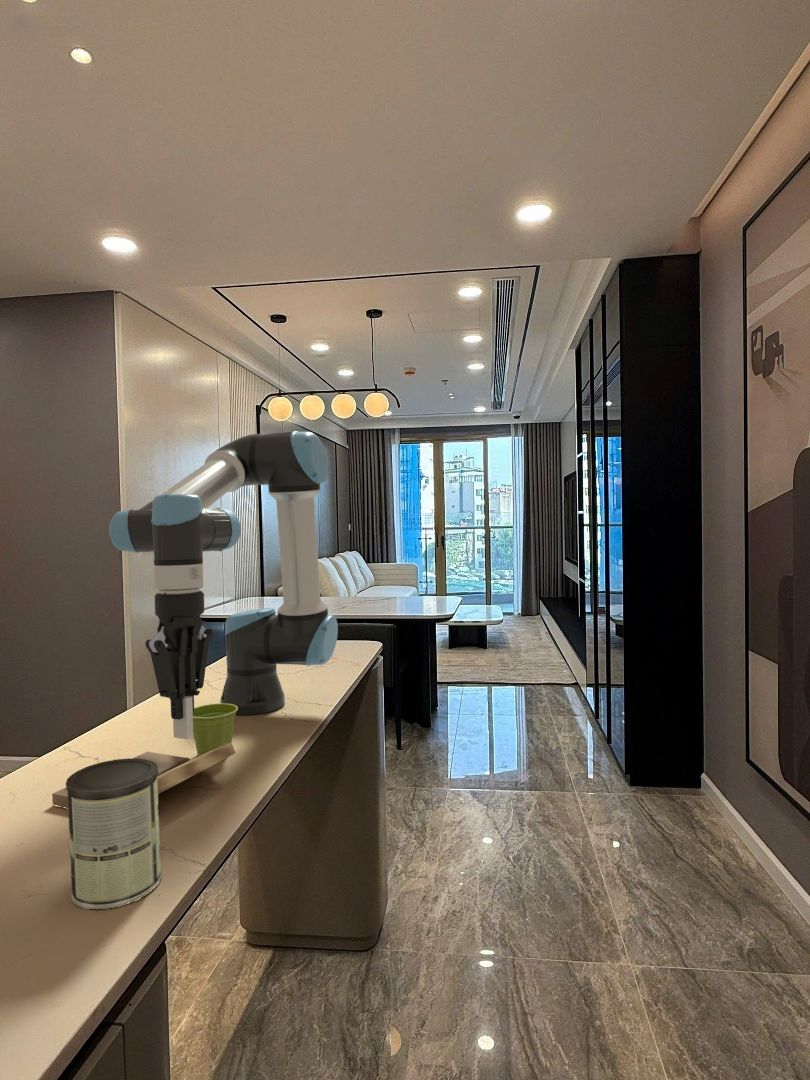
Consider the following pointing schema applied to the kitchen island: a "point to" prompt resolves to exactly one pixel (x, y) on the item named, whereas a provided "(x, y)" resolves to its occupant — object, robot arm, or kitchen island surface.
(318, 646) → the robot arm
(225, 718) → the plant pot
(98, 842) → the coffee can
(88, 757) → the kitchen island surface
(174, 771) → the oak plank
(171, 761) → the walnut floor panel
